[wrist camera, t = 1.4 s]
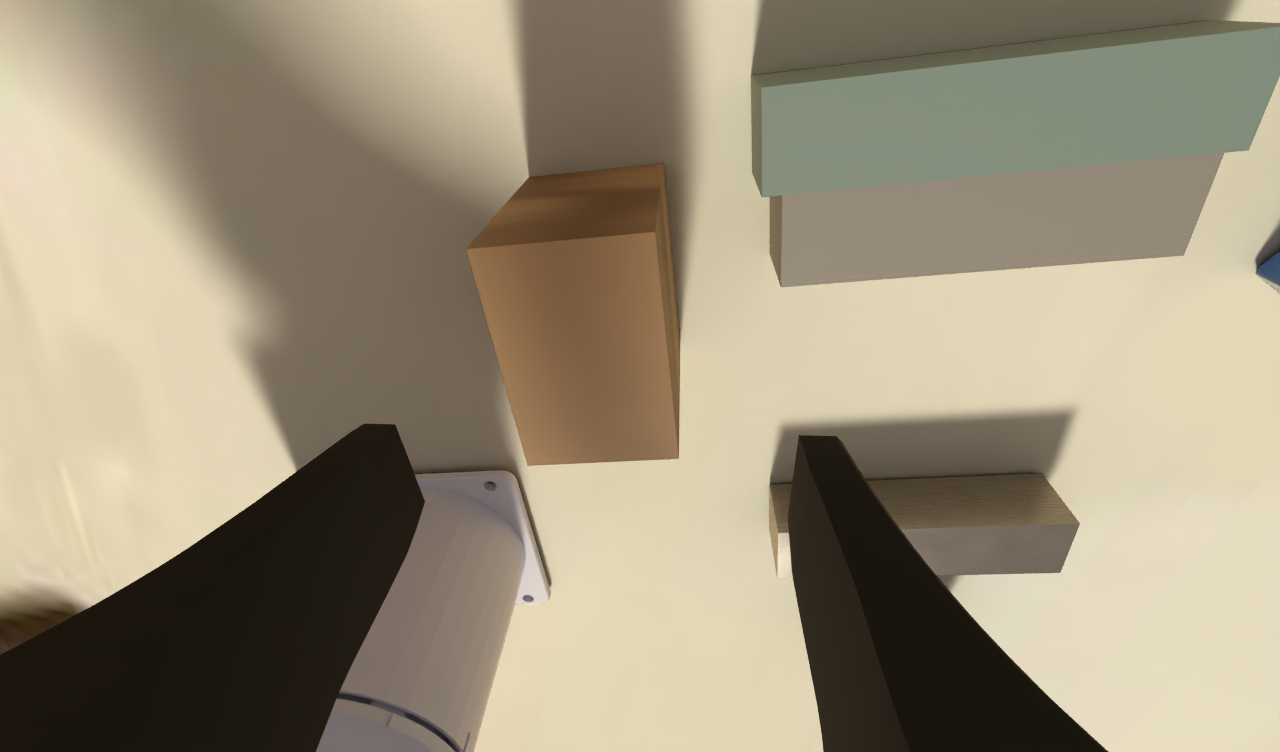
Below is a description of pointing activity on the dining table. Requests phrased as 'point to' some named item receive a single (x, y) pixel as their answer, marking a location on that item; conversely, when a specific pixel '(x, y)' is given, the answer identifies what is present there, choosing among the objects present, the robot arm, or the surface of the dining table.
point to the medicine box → (1271, 272)
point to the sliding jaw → (962, 523)
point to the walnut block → (585, 315)
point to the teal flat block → (1005, 151)
